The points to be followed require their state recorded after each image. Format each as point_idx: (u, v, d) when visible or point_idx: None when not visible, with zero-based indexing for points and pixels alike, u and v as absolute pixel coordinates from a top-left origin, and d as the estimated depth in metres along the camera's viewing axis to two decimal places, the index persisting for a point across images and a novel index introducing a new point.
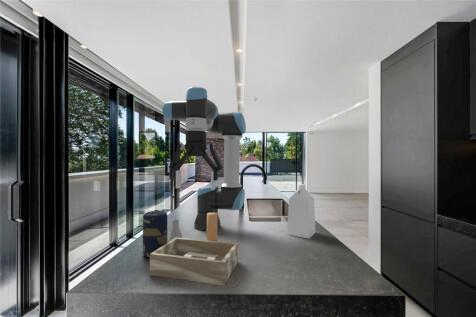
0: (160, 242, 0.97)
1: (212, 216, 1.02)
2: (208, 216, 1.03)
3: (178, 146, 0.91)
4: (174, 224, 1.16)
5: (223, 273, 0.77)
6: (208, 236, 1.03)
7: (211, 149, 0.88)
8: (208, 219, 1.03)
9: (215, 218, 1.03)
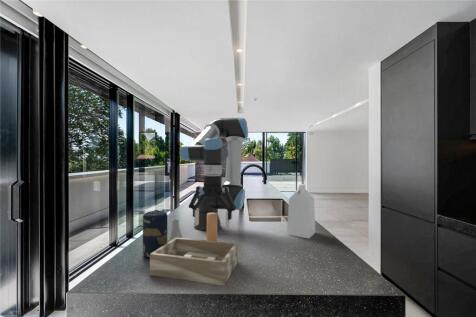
0: (160, 242, 0.97)
1: (212, 216, 1.02)
2: (208, 216, 1.03)
3: (197, 188, 1.04)
4: (174, 224, 1.16)
5: (223, 273, 0.77)
6: (208, 236, 1.03)
7: (226, 192, 1.01)
8: (208, 219, 1.03)
9: (215, 218, 1.03)
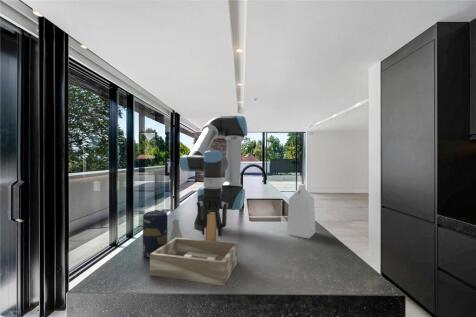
0: (160, 242, 0.97)
1: (212, 216, 1.02)
2: (208, 216, 1.03)
3: (197, 204, 1.04)
4: (174, 224, 1.16)
5: (223, 273, 0.77)
6: (208, 236, 1.03)
7: (224, 208, 1.02)
8: (208, 219, 1.03)
9: (215, 218, 1.03)
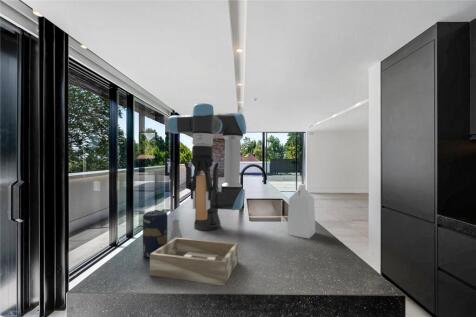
0: (160, 242, 0.97)
1: (202, 177, 0.90)
2: (197, 177, 0.91)
3: (186, 165, 0.93)
4: (174, 224, 1.16)
5: (223, 273, 0.77)
6: (197, 200, 0.91)
7: (215, 168, 0.90)
8: (197, 181, 0.91)
9: (205, 180, 0.91)
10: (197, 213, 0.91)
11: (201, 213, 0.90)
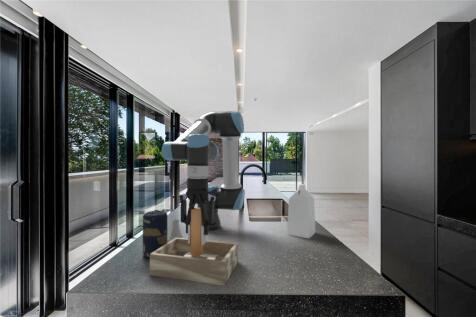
0: (160, 242, 0.97)
1: (197, 212, 0.87)
2: (192, 212, 0.87)
3: (180, 197, 0.89)
4: (174, 224, 1.16)
5: (223, 273, 0.77)
6: (192, 235, 0.87)
7: (211, 202, 0.86)
8: (192, 215, 0.87)
9: (200, 214, 0.87)
10: (192, 249, 0.87)
11: (196, 248, 0.87)
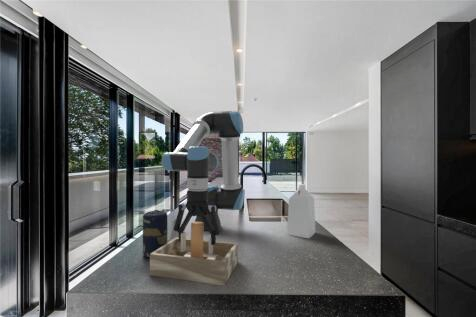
0: (160, 242, 0.97)
1: (197, 226, 0.87)
2: (192, 226, 0.87)
3: (179, 207, 0.89)
4: (174, 224, 1.16)
5: (223, 273, 0.77)
6: (192, 250, 0.87)
7: (212, 212, 0.86)
8: (192, 230, 0.87)
9: (200, 229, 0.87)
10: None
11: None
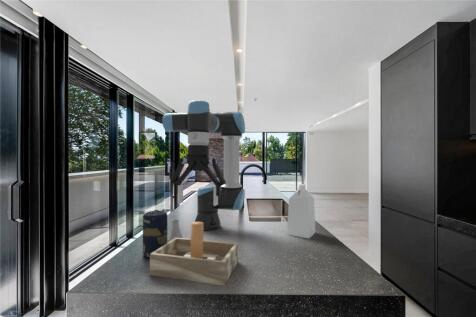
0: (160, 242, 0.97)
1: (197, 226, 0.87)
2: (192, 226, 0.87)
3: (180, 160, 0.89)
4: (174, 224, 1.16)
5: (223, 273, 0.77)
6: (192, 250, 0.87)
7: (214, 164, 0.86)
8: (192, 230, 0.87)
9: (200, 229, 0.87)
10: None
11: None
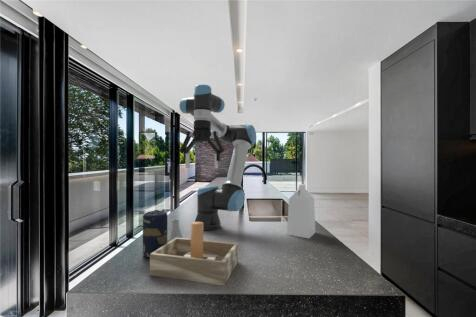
0: (160, 242, 0.97)
1: (197, 226, 0.87)
2: (192, 226, 0.87)
3: (187, 133, 1.11)
4: (174, 224, 1.16)
5: (223, 273, 0.77)
6: (192, 250, 0.87)
7: (215, 135, 1.08)
8: (192, 230, 0.87)
9: (200, 229, 0.87)
10: None
11: None
